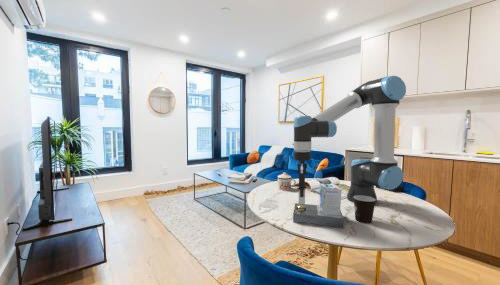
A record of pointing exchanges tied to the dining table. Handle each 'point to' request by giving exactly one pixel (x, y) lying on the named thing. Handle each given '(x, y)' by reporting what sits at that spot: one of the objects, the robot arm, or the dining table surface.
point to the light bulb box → (330, 199)
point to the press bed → (316, 217)
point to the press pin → (300, 207)
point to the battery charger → (398, 189)
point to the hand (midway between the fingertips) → (301, 203)
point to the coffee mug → (364, 208)
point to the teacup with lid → (285, 182)
